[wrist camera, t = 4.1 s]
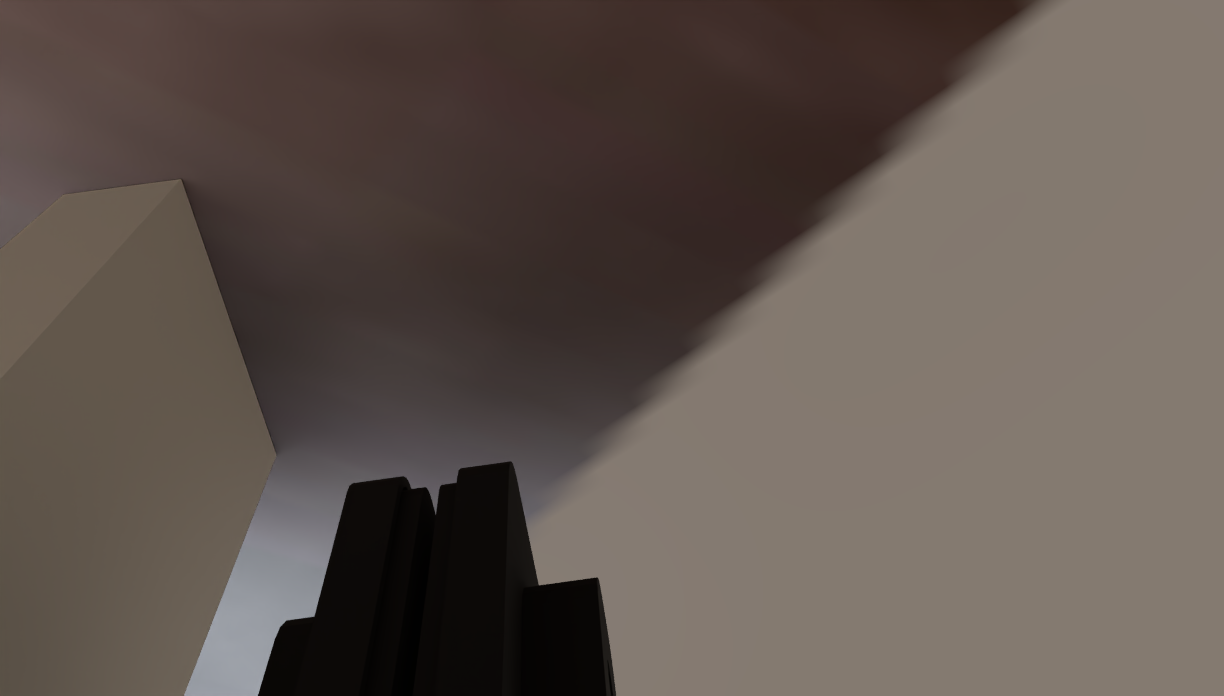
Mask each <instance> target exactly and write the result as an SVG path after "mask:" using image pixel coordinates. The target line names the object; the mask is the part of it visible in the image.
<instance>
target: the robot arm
mask: <svg viewBox="0 0 1224 696" xmlns="http://www.w3.org/2000/svg"><path fill="white" fill-rule="evenodd" d="M258 696H616V691H615V683H614V674H613V667H612V659H611V651H610V644H609V638H608V631H607V625H606V619H605V612H604V606H603V600H602V594H601V589H600V584H599V579H598V578H590V579H583V580H576V581H568V582H561V583H555V584H547V585H538V580H537V575H536V570H535V565H534V560H533V555H532V551H531V546H530V541H529V536H528V531H527V526H526V521H525V516H524V512H523V507H522V502H521V497H520V492H519V487H518V482H517V477H516V473H515V469H514V466H513V463H512V462H504V463H496V464H489V465H482V466H475V467H467V468H460V470H459V471H458V476H457V483H453V484H445V485H441V486H440V490H439V496H438V504H437V512H436V515H435V511H434V507H433V503H432V499H431V496H430V493H429V491H428V489H427V488H426V487H424V488H416V489H411V487H410V484H409V482H408V480H407V478H405V477H404V476H402V477H395V478H388V479H380V480H373V481H366V482H359V483H353V484H351V485H350V486H349V489H348V491H347V494H346V498H345V502H344V506H343V510H342V514H341V517H340V521H339V525H338V529H337V533H336V536H335V540H334V544H333V548H332V552H331V556H330V559H329V563H328V567H327V571H326V575H325V578H324V582H323V586H322V590H321V594H320V597H319V601H318V605H317V609H316V613H315V617H309V618H302V619H294V620H287V621H286V622H285V623H284V624H283V625H282V626H281V627H280V629H279V631H278V633H277V636H276V638H275V641H274V644H273V647H272V651H271V654H270V657H269V661H268V664H267V667H266V671H265V674H264V677H263V681H262V684H261V687H260V691H259V694H258Z"/></svg>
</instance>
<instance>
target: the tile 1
mask: <svg viewBox="0 0 1224 696" xmlns="http://www.w3.org/2000/svg"><path fill="white" fill-rule="evenodd" d="M276 456H277V455H276V452H275V449H274V446H273V443H272V440H271V438H270V435H269V432H268V429H267V426H266V423H265V420H264V417H263V414H262V412H261V409H260V406H259V403H258V400H257V397H256V394H255V391H254V388H253V385H252V383H251V380H250V377H249V374H248V371H247V368H246V365H245V362H244V359H243V357H242V354H241V351H240V348H239V345H238V342H237V339H236V336H235V333H234V330H233V328H232V325H231V322H230V319H229V316H228V313H227V310H226V307H225V304H224V302H223V299H222V296H221V293H220V290H219V287H218V284H217V281H216V278H215V275H214V273H213V270H212V267H211V264H210V261H209V258H208V255H207V252H206V249H205V246H204V244H203V241H202V238H201V235H200V232H199V229H198V226H197V223H196V220H195V218H194V215H193V212H192V209H191V206H190V203H189V200H188V197H187V194H186V191H185V189H184V186H183V183H182V180H181V179H177V180H170V181H162V182H155V183H147V184H139V185H132V186H124V187H116V188H109V189H101V190H94V191H86V192H78V193H71V194H64V195H62V196H61V197H60V198H59V199H58V200H57V201H55V202H54V203H53V204H52V205H51V206H50V207H48V208H47V209H46V210H45V211H44V212H43V213H42V214H40V215H39V216H38V217H37V218H36V219H35V220H33V221H32V222H31V223H30V224H29V225H28V226H26V227H25V228H24V229H23V230H22V231H21V232H19V233H18V234H17V235H16V236H15V237H14V238H13V239H11V240H10V241H9V242H8V243H7V244H6V245H4V246H3V247H2V248H1V249H0V696H184V694H185V691H186V688H187V686H188V683H189V681H190V678H191V676H192V673H193V670H194V668H195V665H196V663H197V660H198V657H199V655H200V652H201V650H202V647H203V644H204V642H205V639H206V637H207V634H208V632H209V629H210V626H211V624H212V621H213V619H214V616H215V613H216V611H217V608H218V606H219V603H220V601H221V598H222V595H223V593H224V590H225V588H226V585H227V582H228V580H229V577H230V575H231V572H232V569H233V567H234V564H235V562H236V559H237V557H238V554H239V551H240V549H241V546H242V544H243V541H244V538H245V536H246V533H247V531H248V528H249V525H250V523H251V520H252V518H253V515H254V513H255V510H256V507H257V505H258V502H259V500H260V497H261V494H262V492H263V489H264V487H265V484H266V481H267V479H268V476H269V474H270V471H271V469H272V466H273V463H274V461H275V458H276Z"/></svg>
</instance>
